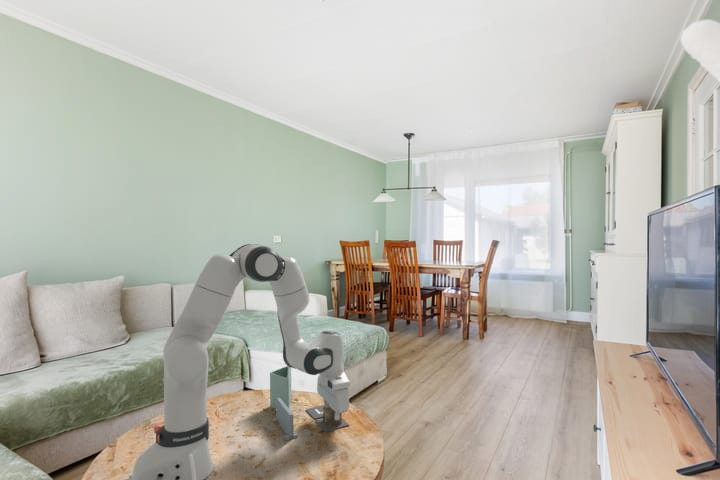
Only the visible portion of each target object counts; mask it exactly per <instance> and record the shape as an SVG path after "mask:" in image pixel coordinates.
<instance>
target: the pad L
mask: <svg viewBox="0 0 720 480" xmlns="http://www.w3.org/2000/svg"><path fill="white" fill-rule="evenodd" d="M323 407H325V405H324V404H322V405H317V406H314V407H309V408H306V409H305V411H306V412H307V413H308V415H310V417H311V418H312V419H314V420H315V421H316V420H319V419H323Z"/></svg>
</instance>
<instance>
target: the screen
mask: <svg viewBox="0 0 720 480" xmlns="http://www.w3.org/2000/svg"><path fill="white" fill-rule="evenodd" d="M276 401H277V410H276V417H273V418H272V422H273V423H274V424H275V422H276V423H278V424H279V423H280V424H279V426H281V428H282V430H283V431H284V433H285V434H284V435H283V437H284V438H283V439H285V441H290V440H293V439H297V438H299V437H298V436H299V435H298V433H297V432H295V431H294V427H295V426H294V424H295V423H294V413H293V412H292V411H291V408H290V409H289V408H288V407H287V406H286V405H285V403H284V402H283V401H282V400H281V398H280V397H278V398H276Z"/></svg>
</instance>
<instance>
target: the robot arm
mask: <svg viewBox="0 0 720 480" xmlns="http://www.w3.org/2000/svg"><path fill="white" fill-rule="evenodd" d="M244 279H248V280H251V281H254V282H255V281H256V282H260V283H266V282H268V283H269V284H270V286H271V290H272V294H273V296H274V300H275V304H276V309H277V311H276V312H277V314H276V315H277V318H278V324H279V325H278V326H279V328H280V334H281V337H282V344H283V345H282V346H283V347H282V358H283V362H284V363H285V365H287V366H289V367H291V369H295V370H297V371H300V372H302V373H305V374H307V375H311V376H317V375H318V376H317V381H316V382H317V386H316V392H317V394H318V395H319V396H320V397H321V398H322V401H323V405H325V406H330V405H331V406H332V407H333V408H334V411H335V413H334V414H333V418H334V419H335V420H339V419H340V413H341V414H342V413H344V412H347V411H348V410H349V408H350V391H349V388H350V386H351V382H350V380H349V379H348V377H347V375H346V372H345V367H344V363H343V361H344V341H343V336H342V335H341V333H338V332H337V331H336V332H335V331H332V330H325V331H321V332H320V334H319V336H318V337H317V338H316V339H315V340H314V341H312V342H311V343H309V342H307V341H305V339H304V338H302V336H301V334H300V328H299V324H298V320H297V319H298V318H297V317H298V315H299V314H301V313H303V312H304V311H305V310H306V308H307V307H308V306H309V303H310V293H309V290H308V286H307V283H306V281H305V277H304V275H303V272H302V269H301V267H300V265H299V264H298V261H297V260H296V259H295V258H294V257H291V256H285V255H284V256H280V254H278V253H277V251H275V249H272V248H271V247H269V246H266V245H265V246H264V245H262V244H253V243H251V244H250V243H249V244H244V245H243V244H242V245H241V246H239V247H238V248H237V249H236V250H234V251H233V252H232V253H230V254H225V253H223V254H222V253H221V254H215V255H213V256H212V257H211V258H210V259H209V260H208V262H207V263H206V264H205V265H204V267H203V269H202V271H201V272H200V274H199V276H198V278H197V280H196V282H195V284H194V286H193V288H192V290H191V293H190V295H189V297H188V299H187V301H186V304H185V306H184V308H183V310H182V312H181V314H180V316H179V318H178V319H177V321H176V323H175V324H174V327H173V328H172V331H171V332H170V334H169V336H168V339H167V340H166V342H165V344H164V347H163V393H164V394H163V419H164V420H163V424H164V425H162V424H160V423H157V424H156V425H155V426H154V429H153V430H154V434H155V441H154V442H153V443H152V444H151V445H150V446H148V447H147V449H146V450H144V451H143V452H142V453H140V455H139V456H138V457H137V459H136V461H135V463H134V466H133V470H132V472H130V473H129V474H128V475H127V476H126V478H125V479H124V480H205V479H207V477H209V476H210V475H211V473H212V472H213V470H214V466H215V465H214V463H213V459H212V457H211V456H212V455H211V452H210V445H209V438H210V437H209V436H210V422H209V417H208V404H207V403H208V400H207V399H208V398H207V396H208V394H207V393H208V383H209V382H208V380H209V366H210V365H209V351H208V349H207V348H208V344H209V342H210V341H211V340H212V337H213V335H214V333H215V332H216V330H217V329H218V327H219V326H220V325H221V324H222V321H223V319H224V317H225V315H226V312H227V310H228V307H229V306H230V303H231V301H232V299H233V296H234V294H235V291H236V288H237V286H239V284H240V282H242V281H243V280H244Z"/></svg>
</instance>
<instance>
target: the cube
mask: <svg viewBox="0 0 720 480" xmlns="http://www.w3.org/2000/svg"><path fill="white" fill-rule="evenodd" d="M334 413H335V411H334V408H333V407H332V406H331V405H330V406H325V407H323V418H322V419H323V421H324V422H325V423H326V424H327V425H328V427H330V426H334V425H337V424H341V423H342V415H343V414H342V412H341V413H340V419H339V420H335V419H334V418H333V414H334Z"/></svg>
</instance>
